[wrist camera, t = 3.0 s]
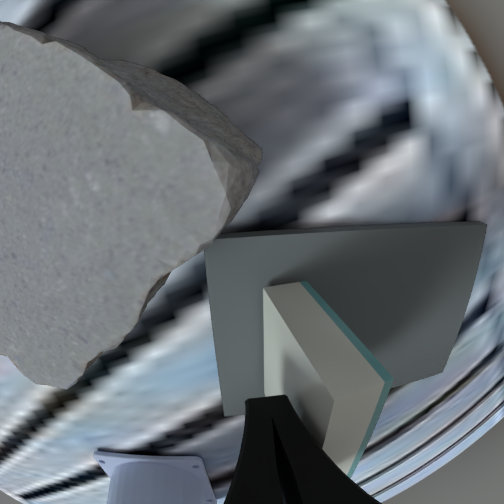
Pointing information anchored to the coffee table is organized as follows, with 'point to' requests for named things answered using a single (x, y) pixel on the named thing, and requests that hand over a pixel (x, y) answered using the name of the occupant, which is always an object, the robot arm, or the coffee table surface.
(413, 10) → the coffee table surface
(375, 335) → the mat
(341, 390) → the tile
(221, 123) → the decorative stone
